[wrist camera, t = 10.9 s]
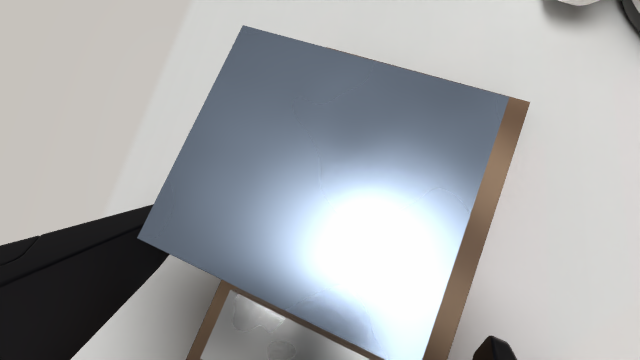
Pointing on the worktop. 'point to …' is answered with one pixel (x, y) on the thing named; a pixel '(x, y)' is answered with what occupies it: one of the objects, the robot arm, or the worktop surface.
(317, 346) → the block
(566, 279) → the worktop surface
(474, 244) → the base
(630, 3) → the spread jar
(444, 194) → the steel block
